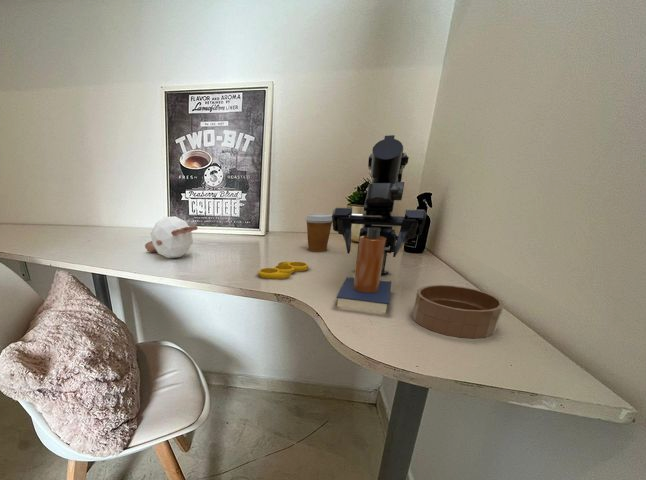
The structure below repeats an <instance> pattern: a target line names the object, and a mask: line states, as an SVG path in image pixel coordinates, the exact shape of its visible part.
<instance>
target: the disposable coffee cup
mask: <svg viewBox="0 0 646 480" xmlns="http://www.w3.org/2000/svg"><path fill="white" fill-rule="evenodd" d="M305 222H306V233H307V234H306V235H307V249H308V251H310V252H314V253H316V252H318V253H319V252H326V251H327V250H328V243H329V240H330V234H331V230H332V226H333V223H332V213H308V214H306V218H305Z"/></svg>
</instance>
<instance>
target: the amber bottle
mask: <svg viewBox="0 0 646 480" xmlns="http://www.w3.org/2000/svg"><path fill="white" fill-rule="evenodd" d="M379 235H380V228H379V227H368V230H367V236H360V237H359V236H358V245H357V252H356V260H355V261H356V262H355V269H354V276H353V278H354V285H353V288H354V289H355V290H356V291H359V292H365V293H373V292H377V291H378V290H379V283H380V281H381V277H382V275H381V270H382V264H383V257H384V251H385V244H386V238H385V237H382V236H379Z"/></svg>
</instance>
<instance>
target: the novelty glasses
mask: <svg viewBox="0 0 646 480" xmlns="http://www.w3.org/2000/svg"><path fill="white" fill-rule="evenodd" d="M308 269H309V264H308V263H306V262H304V261H281V262H279V263H277V265H275V266H274V267H264V268H261V269H259V271H258V276H259V277H260V278H263V279H271V280H282V279H288V278H290V277H291V275H293V274H294V273H295V272H305V271H307V270H308Z"/></svg>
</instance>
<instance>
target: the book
mask: <svg viewBox="0 0 646 480" xmlns="http://www.w3.org/2000/svg"><path fill="white" fill-rule="evenodd" d="M353 285H354V277H349V276H347V277H345V280H344V281H343V283H342V285H341V287H340V289H339V291H338V293H337V295H336V299H337V303H336V304H337V305H336V308H343V309H350V310H358V311H365V312H374V313H380V314H386V313H387V309H388V305H390V299H391V298H390V297H391V289H392V281H386V280H380V283H379V290H378V291H377V292H373V293H365V292H359V291H356V290H355V289H354V288H353Z"/></svg>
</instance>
